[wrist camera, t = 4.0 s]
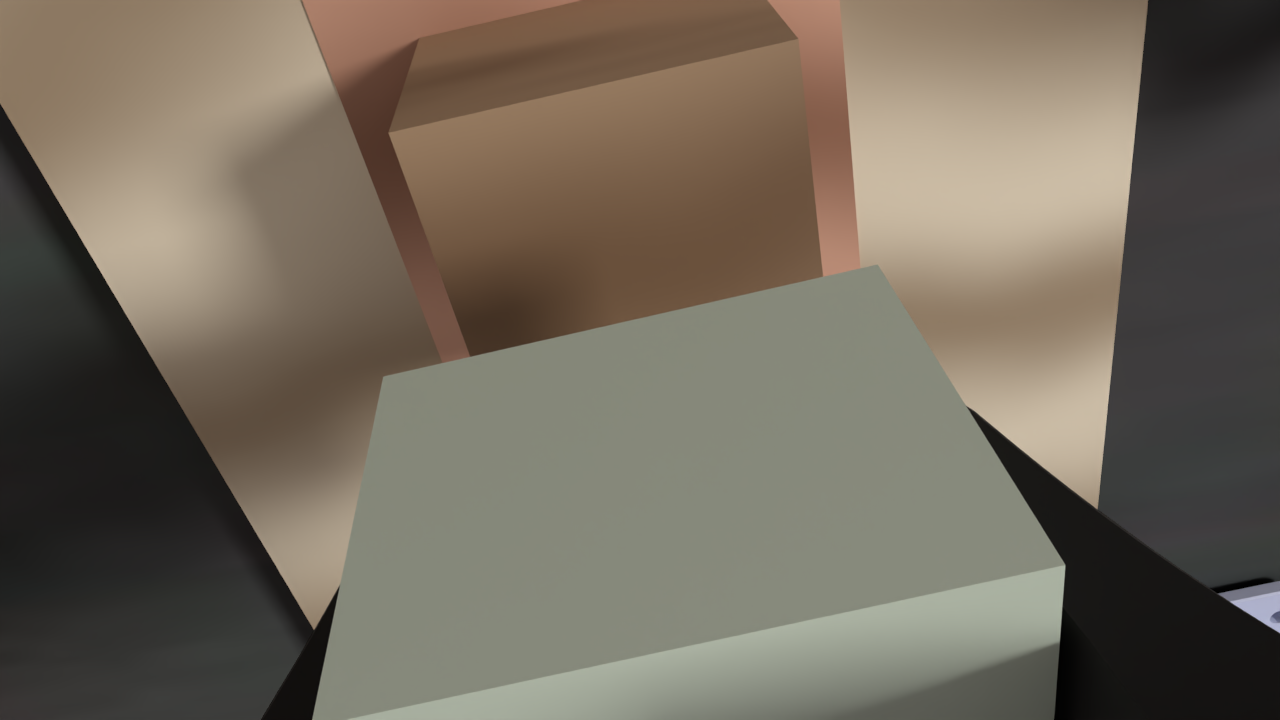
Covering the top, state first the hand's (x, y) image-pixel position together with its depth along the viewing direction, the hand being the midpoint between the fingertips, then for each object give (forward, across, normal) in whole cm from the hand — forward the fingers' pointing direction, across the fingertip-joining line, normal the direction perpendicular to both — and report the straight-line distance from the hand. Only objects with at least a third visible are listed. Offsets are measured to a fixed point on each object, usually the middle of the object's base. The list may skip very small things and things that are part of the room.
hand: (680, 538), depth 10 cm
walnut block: (+8, 0, -1) cm, 8 cm away
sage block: (+1, 0, 0) cm, 1 cm away
